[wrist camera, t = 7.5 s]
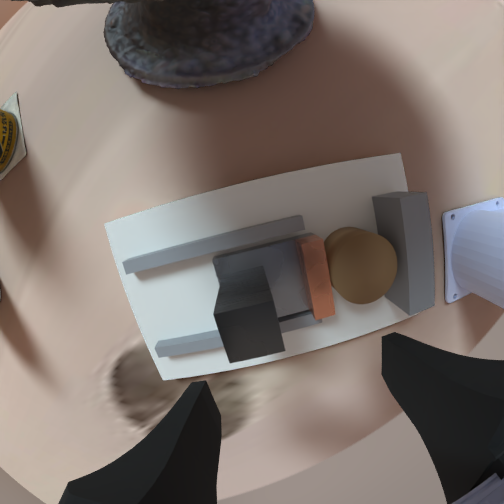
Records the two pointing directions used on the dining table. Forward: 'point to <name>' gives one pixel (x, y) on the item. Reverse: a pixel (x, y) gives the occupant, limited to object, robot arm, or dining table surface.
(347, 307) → the board
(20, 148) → the condiment
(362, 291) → the nut
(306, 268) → the carriage
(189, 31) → the decorative urn
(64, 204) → the dining table surface
